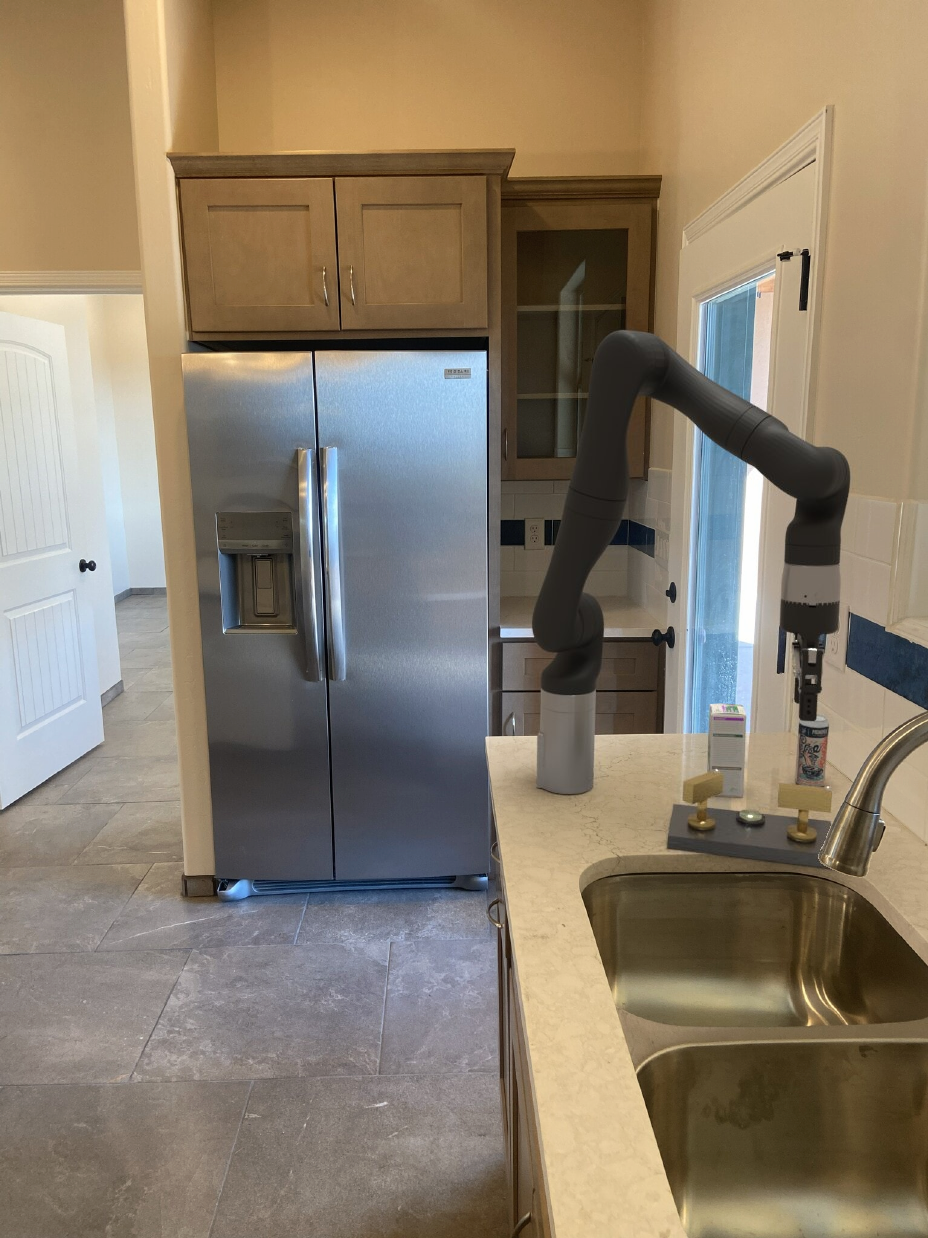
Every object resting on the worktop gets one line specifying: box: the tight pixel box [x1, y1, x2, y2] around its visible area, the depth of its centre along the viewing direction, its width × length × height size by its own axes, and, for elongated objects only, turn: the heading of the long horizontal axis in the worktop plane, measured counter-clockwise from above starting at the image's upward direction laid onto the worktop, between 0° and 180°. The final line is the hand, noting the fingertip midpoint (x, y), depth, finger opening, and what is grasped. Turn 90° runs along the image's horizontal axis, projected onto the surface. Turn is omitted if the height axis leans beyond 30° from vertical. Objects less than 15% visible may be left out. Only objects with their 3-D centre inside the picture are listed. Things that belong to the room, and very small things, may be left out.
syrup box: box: [706, 703, 747, 799], centre depth 150 cm, size 6×6×14 cm
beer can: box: [794, 714, 830, 787], centre depth 153 cm, size 5×5×12 cm
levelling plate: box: [666, 803, 832, 869], centre depth 132 cm, size 23×12×3 cm, turn 73°
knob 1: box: [682, 769, 724, 830], centre depth 132 cm, size 7×4×8 cm, turn 128°
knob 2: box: [777, 782, 833, 842], centre depth 128 cm, size 7×4×8 cm, turn 73°
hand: (804, 711), depth 124 cm, fingers open, 8 cm apart
